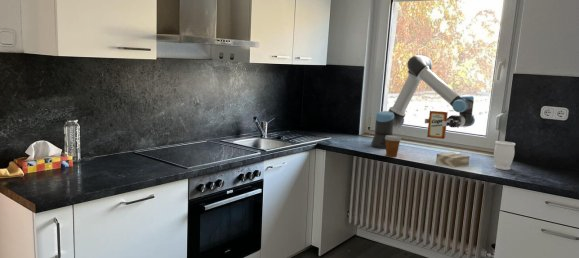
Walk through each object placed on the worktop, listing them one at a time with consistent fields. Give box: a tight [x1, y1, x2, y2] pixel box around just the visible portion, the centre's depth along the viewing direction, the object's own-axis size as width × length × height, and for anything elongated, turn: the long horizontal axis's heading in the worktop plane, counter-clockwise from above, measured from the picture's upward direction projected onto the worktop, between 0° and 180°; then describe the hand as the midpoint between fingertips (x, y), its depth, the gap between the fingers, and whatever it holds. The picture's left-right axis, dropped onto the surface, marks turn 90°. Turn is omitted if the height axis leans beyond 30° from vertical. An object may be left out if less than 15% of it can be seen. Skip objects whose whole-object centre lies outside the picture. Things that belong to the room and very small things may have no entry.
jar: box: [493, 140, 516, 171], centre depth 253 cm, size 11×10×15 cm
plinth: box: [435, 151, 471, 168], centre depth 260 cm, size 12×14×5 cm
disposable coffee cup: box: [385, 134, 401, 158], centre depth 273 cm, size 10×10×12 cm
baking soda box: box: [426, 109, 449, 140], centre depth 267 cm, size 10×6×16 cm
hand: (433, 122), depth 265 cm, fingers closed on baking soda box, 11 cm apart
